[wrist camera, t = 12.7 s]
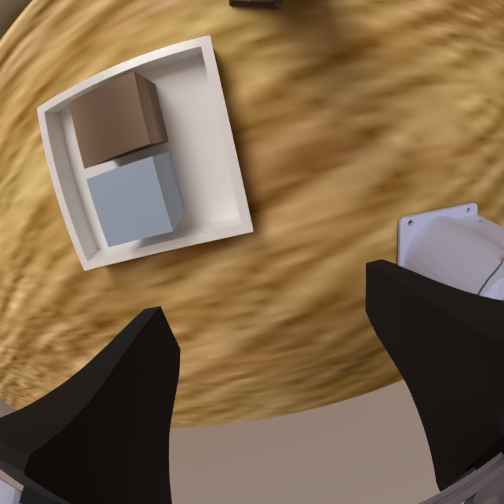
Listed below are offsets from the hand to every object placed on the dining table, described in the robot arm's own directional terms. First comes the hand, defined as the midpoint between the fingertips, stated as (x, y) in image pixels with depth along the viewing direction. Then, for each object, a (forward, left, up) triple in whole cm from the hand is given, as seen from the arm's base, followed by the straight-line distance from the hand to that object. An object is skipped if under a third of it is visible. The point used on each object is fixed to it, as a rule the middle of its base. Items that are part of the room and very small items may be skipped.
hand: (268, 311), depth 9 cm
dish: (+6, -6, -10) cm, 13 cm away
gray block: (+6, -4, -10) cm, 12 cm away
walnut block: (+6, -8, -10) cm, 14 cm away
